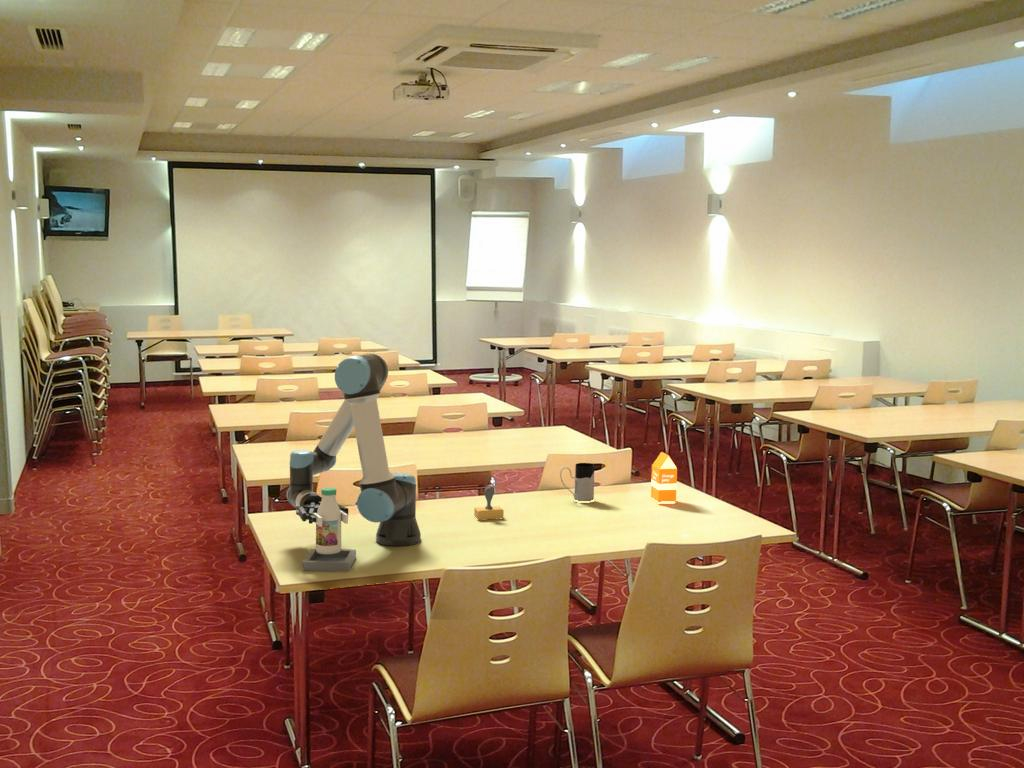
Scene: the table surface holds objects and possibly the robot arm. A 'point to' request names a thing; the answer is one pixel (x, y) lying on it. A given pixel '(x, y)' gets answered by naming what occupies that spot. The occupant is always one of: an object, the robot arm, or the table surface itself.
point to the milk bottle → (329, 523)
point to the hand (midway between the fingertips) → (334, 520)
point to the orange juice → (664, 479)
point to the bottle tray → (329, 561)
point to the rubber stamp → (488, 508)
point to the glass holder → (583, 482)
